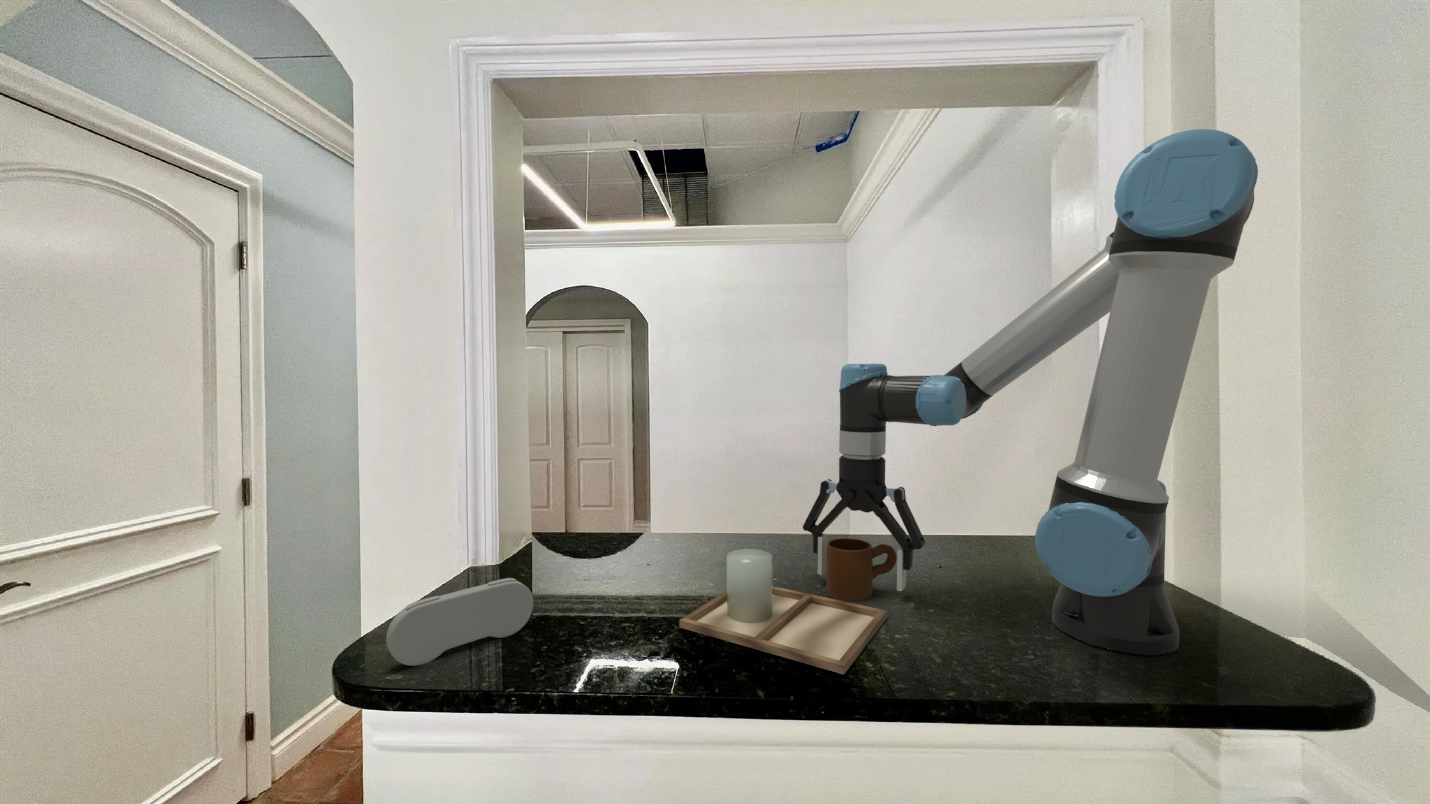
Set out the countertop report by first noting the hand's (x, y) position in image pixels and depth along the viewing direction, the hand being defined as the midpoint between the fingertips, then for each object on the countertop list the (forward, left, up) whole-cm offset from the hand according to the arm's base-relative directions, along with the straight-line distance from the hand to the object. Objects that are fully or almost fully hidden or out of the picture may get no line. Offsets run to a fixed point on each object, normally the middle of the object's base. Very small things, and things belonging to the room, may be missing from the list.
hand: (860, 580), depth 95 cm
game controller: (+42, +46, -3) cm, 62 cm away
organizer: (+6, +18, -3) cm, 19 cm away
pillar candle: (+12, +18, -2) cm, 21 cm away
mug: (0, 0, -3) cm, 3 cm away
